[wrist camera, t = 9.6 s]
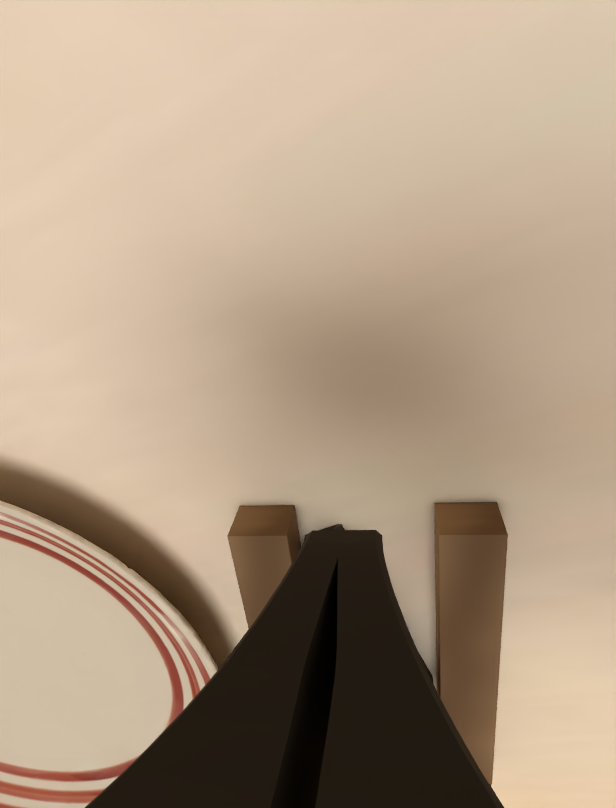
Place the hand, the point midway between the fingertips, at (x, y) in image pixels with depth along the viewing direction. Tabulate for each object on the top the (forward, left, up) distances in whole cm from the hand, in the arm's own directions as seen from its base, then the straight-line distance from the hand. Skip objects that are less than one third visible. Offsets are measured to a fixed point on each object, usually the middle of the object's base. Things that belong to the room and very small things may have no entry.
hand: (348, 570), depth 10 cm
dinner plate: (+22, +16, -11) cm, 29 cm away
